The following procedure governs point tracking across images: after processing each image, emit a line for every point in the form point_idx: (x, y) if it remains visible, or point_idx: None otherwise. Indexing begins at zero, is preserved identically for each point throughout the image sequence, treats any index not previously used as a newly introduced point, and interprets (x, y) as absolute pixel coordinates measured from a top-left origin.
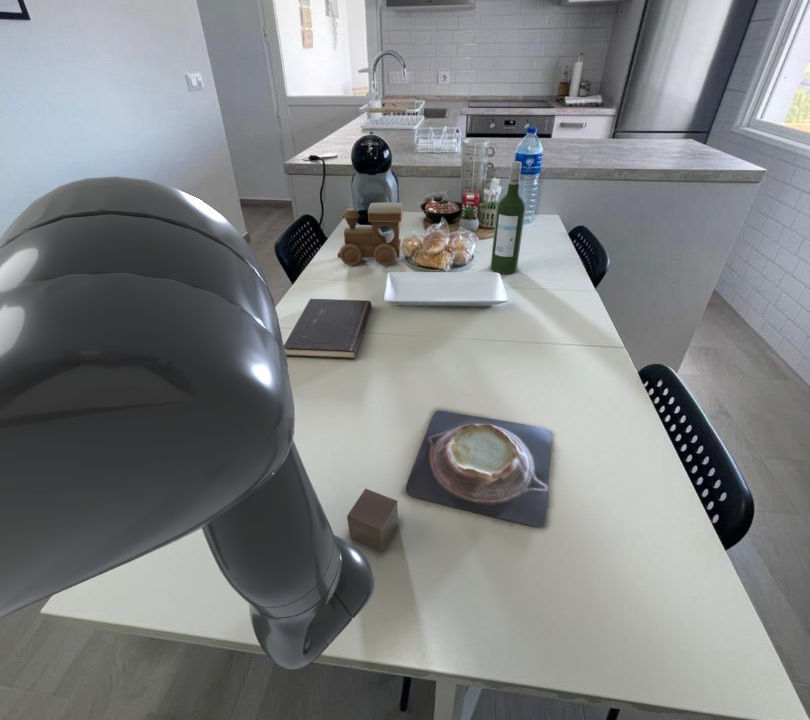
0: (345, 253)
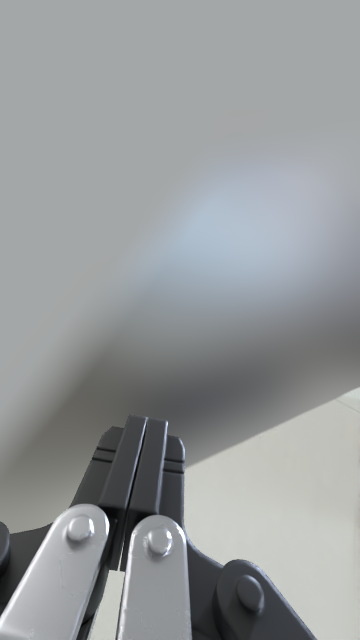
0: None
